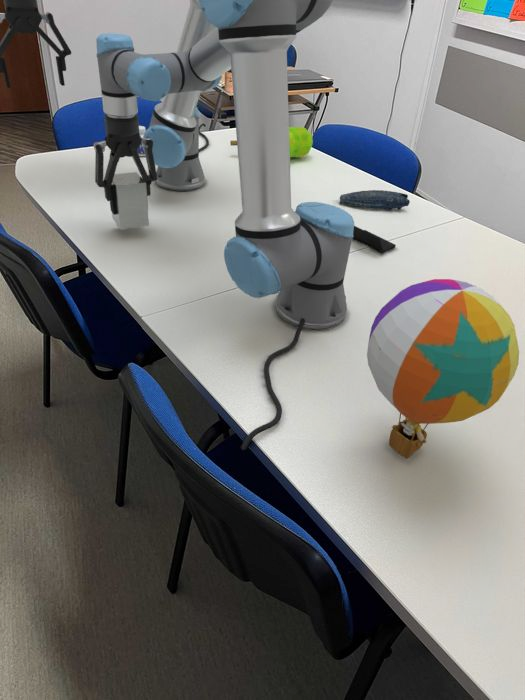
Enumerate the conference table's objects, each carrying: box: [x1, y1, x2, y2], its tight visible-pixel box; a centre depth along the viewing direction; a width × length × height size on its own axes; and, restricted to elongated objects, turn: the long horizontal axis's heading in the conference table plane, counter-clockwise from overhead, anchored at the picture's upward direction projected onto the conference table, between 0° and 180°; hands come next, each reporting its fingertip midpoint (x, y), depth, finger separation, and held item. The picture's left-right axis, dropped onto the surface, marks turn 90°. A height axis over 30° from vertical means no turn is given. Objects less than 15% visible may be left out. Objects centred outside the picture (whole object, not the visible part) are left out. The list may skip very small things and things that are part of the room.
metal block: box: [111, 171, 150, 231], centre depth 130 cm, size 7×7×11 cm
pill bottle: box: [137, 125, 147, 157], centre depth 178 cm, size 5×5×9 cm
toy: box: [366, 278, 520, 459], centre depth 74 cm, size 20×20×30 cm
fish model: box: [339, 189, 411, 211], centre depth 158 cm, size 7×21×5 cm, turn 84°
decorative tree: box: [229, 126, 314, 159], centre depth 185 cm, size 18×10×30 cm
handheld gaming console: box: [352, 225, 397, 255], centre depth 137 cm, size 12×7×10 cm
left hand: (35, 85), depth 138 cm, fingers open, 13 cm apart
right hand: (129, 210), depth 131 cm, fingers closed on metal block, 7 cm apart
